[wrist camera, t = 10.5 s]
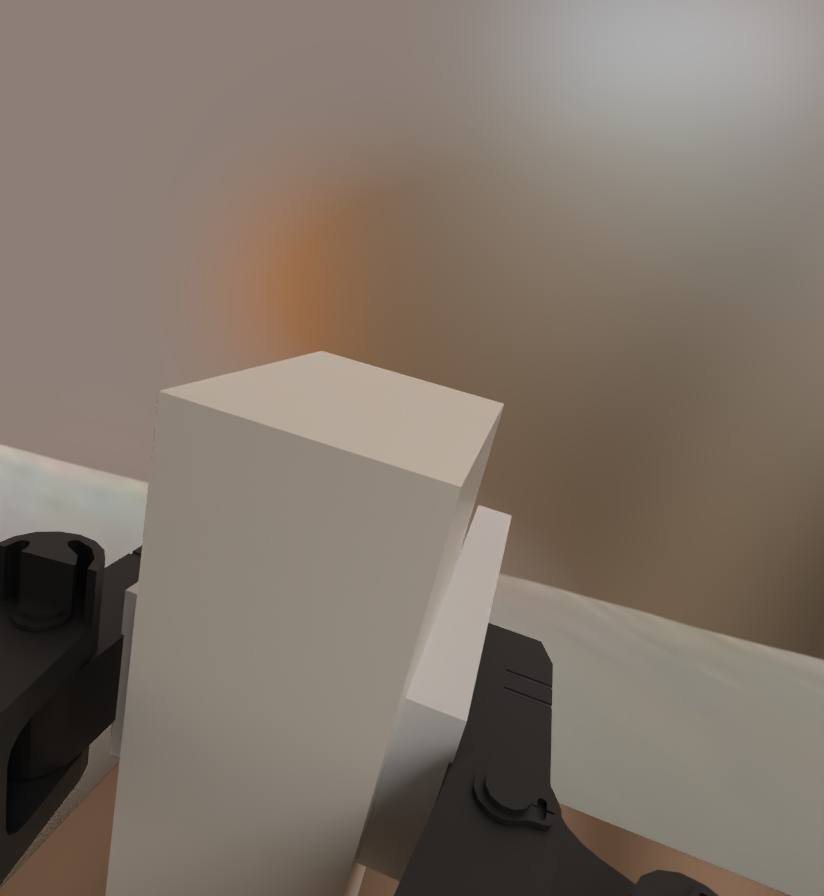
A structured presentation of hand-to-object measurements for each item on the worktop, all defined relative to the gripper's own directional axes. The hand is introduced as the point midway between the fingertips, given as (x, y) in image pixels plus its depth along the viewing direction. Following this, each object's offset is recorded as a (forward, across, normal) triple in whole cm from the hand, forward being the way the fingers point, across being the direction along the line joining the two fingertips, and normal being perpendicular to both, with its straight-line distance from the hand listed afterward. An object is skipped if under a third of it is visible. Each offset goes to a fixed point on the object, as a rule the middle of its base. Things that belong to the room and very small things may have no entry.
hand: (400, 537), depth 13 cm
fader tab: (-5, 0, -7) cm, 9 cm away
